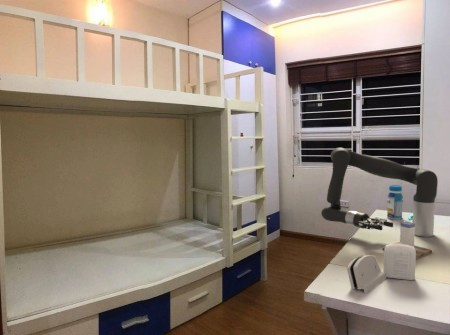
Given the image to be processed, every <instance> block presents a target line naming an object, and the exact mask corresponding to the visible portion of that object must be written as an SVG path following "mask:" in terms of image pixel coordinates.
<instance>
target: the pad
mask: <svg viewBox="0 0 450 335" xmlns="http://www.w3.org/2000/svg"><path fill="white" fill-rule="evenodd" d="M393 244H400V241H398V242H395V243H393ZM414 248H415V251H416V260H417V259H420V258H423V257H425V256H428V255H430V254H432V253H433V249H430V248H426V247H422V246H419V245H415V244H414ZM384 249H385V246H382V251H384Z"/></svg>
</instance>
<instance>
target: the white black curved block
mask: <svg viewBox="0 0 450 335" xmlns="http://www.w3.org/2000/svg"><path fill="white" fill-rule="evenodd" d="M346 268H347V269H346V271H347V275H348V278H349V282H350V288H351V289H352V290H355V289H357V290H363V291H364V294H368V293H369V292H371V291H372V290H373V289H375V287H376V286H378V285H379V284H381V283H382V282H383V281H385V280H386V279H387V277H386V276H385V274H384V273H383V270H381V268H380V265H379V263H378V261H377V258H376V256H374V255H369V254H367V255H360V256H358V257H355V258H354V259H352V260H351V261H350V262H349V264H348V266H347V267H346Z"/></svg>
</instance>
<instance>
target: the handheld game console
mask: <svg viewBox="0 0 450 335" xmlns="http://www.w3.org/2000/svg"><path fill="white" fill-rule="evenodd" d="M408 221H413V213H411V214H410V216H409V217H408Z"/></svg>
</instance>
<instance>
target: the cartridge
mask: <svg viewBox="0 0 450 335" xmlns="http://www.w3.org/2000/svg"><path fill="white" fill-rule="evenodd" d="M399 227H400V228H399V229H400V230H399V232H400V235H399V237H400V238H399V242H400V244H405V245H409V246H412V247H414V245H415V237H416V235H415V223H413V222H410V221H402V222H400V226H399Z"/></svg>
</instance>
